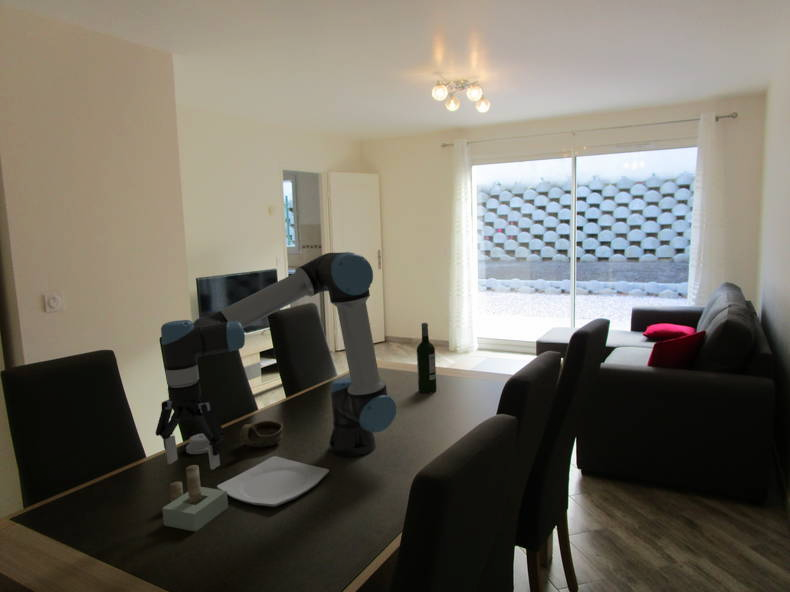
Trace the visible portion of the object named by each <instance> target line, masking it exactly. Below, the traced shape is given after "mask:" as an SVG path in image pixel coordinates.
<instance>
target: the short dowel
mask: <svg viewBox="0 0 790 592" xmlns="http://www.w3.org/2000/svg"><path fill="white" fill-rule="evenodd" d="M169 488H170V499H171V502H173V501H174V500H176V499H177V498H179V497H180V496H182V495H183V494H184V489H183V482H182V481H179V480H178V481H175V482H172V483H170V485H169Z"/></svg>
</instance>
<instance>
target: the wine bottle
mask: <svg viewBox="0 0 790 592" xmlns="http://www.w3.org/2000/svg"><path fill="white" fill-rule="evenodd" d="M429 339H430V337H429V324H428V322H423V323H421V341H420V343H419V344H418V345H417V346H416V363H417V364H416V365H417V367H416V368H417V382H418V383H417V386H418V388H417V389H418V392H419V391H420V392H419V393H421V392H424V393H423V394H430V393H429V392H433V393H435V392H436V391H437V370H436V369H437V367H436V366H437V365H436V348H435V345H434V344H432V343H431V342H430V340H429ZM434 391H435V392H434Z"/></svg>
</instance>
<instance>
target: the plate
mask: <svg viewBox="0 0 790 592" xmlns="http://www.w3.org/2000/svg"><path fill="white" fill-rule="evenodd" d="M328 473H330V470H329V469H328V468H324V467H320V466H314V465H311V464H306V463H303V462H299V461H294V460H290V459H288V458H287V459H286V458H284V457H280V456H277V455H275V456H271V457H269V458H267V459H265V460H264V461H262V462H260V463H259V464H257V465H254V466H253V467H251V468H249V469H247V470H244V471H243V472H242V473H240V474H237V475H236V476H234V477H232V478H230V479H227V480H226V481H224V482H222V483H219V484H218V485H217V486H216V489H218V490H224V491H227V496H229V497H231V498H233V499H235V500H238V501H240V502H242V503H247V504H250V505H256V506H263V507H272V508H273V507H275V508H276V507H278V506H280V505H283V504H285V503H288V502H290V501H293V500H295V499H297V498H298V497H300V496H301V495H304V494H305V493H306V492H309V491H310V490H311V489H312V488H314V487H315V486H316V485H318V484H319V482H320V481H322V479H323V478H324V477H325V476H326V475H327V474H328Z"/></svg>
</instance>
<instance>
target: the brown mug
mask: <svg viewBox="0 0 790 592" xmlns="http://www.w3.org/2000/svg"><path fill="white" fill-rule="evenodd" d="M283 429H284V425H283V423H282V422H279V421H276V420H267V419H266V420H261V421H257V422H252V423H249V424H248V423H245V424H244V425H242V426H241V429H240V432H239V435H240V436H239V437H240V440H241V441H242V443H243V444H245V445H247V446H250V447H254V448H267V447H272V446H274V444H276V443H279V442H280V441H282V439H283V435H284V430H283Z"/></svg>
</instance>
